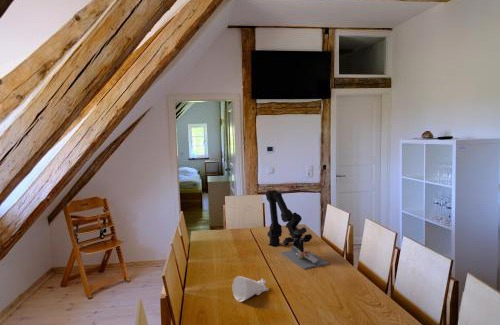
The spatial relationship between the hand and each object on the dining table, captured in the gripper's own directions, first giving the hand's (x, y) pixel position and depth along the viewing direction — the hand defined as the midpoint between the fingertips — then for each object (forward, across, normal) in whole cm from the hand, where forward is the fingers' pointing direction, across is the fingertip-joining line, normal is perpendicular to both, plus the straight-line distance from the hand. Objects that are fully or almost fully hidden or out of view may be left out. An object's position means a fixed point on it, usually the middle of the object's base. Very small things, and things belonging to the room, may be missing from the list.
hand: (303, 252), depth 197 cm
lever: (-2, 0, +8) cm, 9 cm away
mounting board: (0, +5, +10) cm, 11 cm away
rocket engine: (+22, -43, -10) cm, 50 cm away
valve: (0, +5, +10) cm, 11 cm away
